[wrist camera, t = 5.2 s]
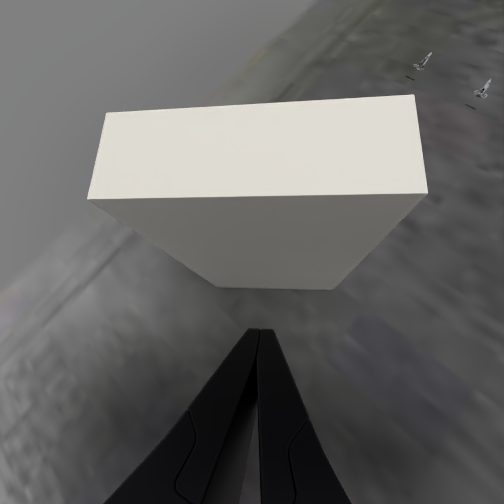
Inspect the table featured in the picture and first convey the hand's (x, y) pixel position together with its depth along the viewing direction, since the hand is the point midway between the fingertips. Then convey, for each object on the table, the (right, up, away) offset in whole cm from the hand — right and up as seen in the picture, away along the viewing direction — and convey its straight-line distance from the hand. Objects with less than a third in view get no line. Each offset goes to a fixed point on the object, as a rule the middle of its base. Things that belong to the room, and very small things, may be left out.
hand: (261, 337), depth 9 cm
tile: (+1, +2, +8) cm, 8 cm away
